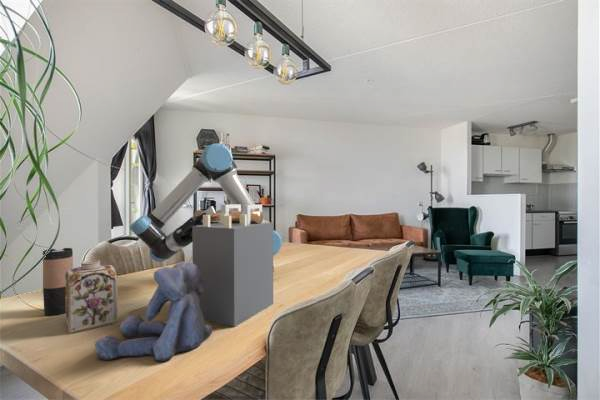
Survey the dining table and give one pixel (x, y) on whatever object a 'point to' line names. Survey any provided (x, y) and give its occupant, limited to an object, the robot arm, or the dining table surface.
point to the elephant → (160, 335)
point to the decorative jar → (90, 296)
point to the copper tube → (234, 216)
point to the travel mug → (55, 280)
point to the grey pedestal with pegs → (234, 266)
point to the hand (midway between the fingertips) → (220, 209)
